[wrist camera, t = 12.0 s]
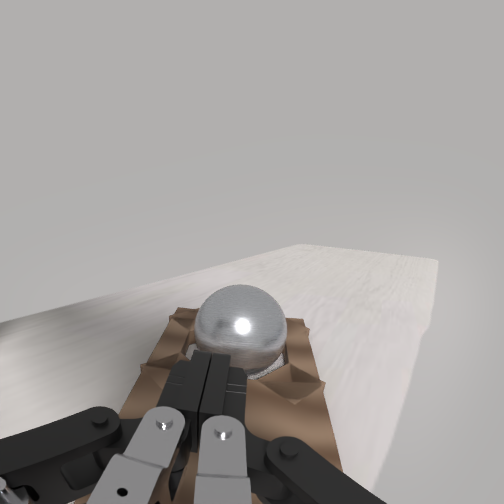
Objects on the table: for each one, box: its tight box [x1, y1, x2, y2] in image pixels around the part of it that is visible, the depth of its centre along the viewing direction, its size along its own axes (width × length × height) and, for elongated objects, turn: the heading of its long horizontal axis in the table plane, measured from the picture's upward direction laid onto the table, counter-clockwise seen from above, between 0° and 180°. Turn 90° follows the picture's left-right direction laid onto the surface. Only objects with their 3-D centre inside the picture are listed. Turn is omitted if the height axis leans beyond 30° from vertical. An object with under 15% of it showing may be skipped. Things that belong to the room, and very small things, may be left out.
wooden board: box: [74, 307, 343, 504], centre depth 28 cm, size 34×19×2 cm, turn 178°
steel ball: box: [194, 285, 287, 376], centre depth 33 cm, size 10×10×10 cm
